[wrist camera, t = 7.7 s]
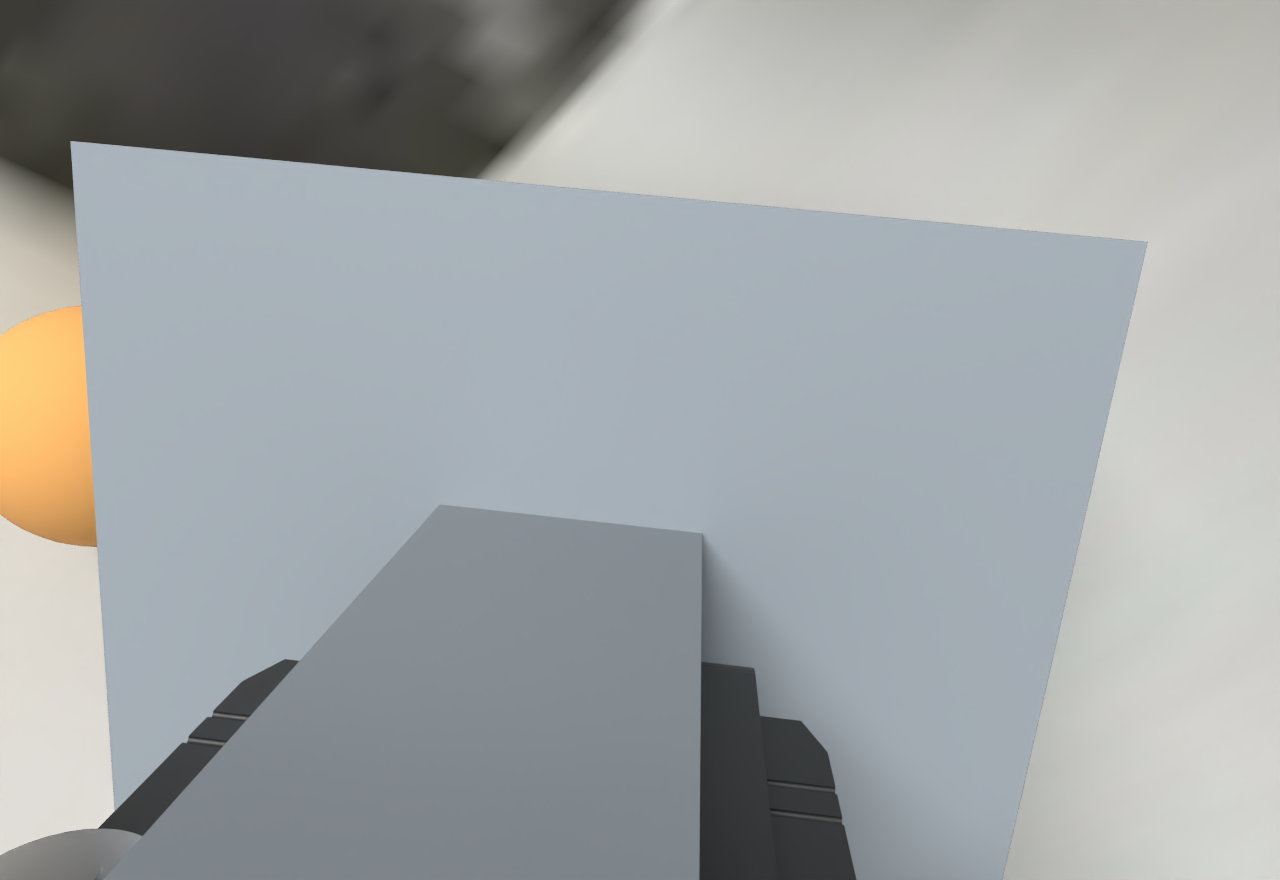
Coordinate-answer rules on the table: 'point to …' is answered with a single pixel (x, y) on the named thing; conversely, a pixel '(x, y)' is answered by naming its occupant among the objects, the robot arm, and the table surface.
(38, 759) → the table surface
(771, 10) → the table surface
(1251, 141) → the table surface
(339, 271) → the square plate with knob
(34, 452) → the ball
